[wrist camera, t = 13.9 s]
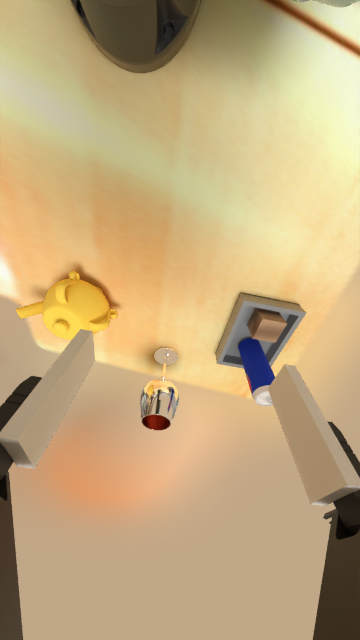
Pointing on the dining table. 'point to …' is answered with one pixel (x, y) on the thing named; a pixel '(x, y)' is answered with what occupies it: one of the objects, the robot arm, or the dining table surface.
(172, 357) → the wineglass
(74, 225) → the dining table surface
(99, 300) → the teapot
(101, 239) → the dining table surface
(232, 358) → the tray
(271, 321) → the walnut block
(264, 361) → the beverage can
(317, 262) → the dining table surface
